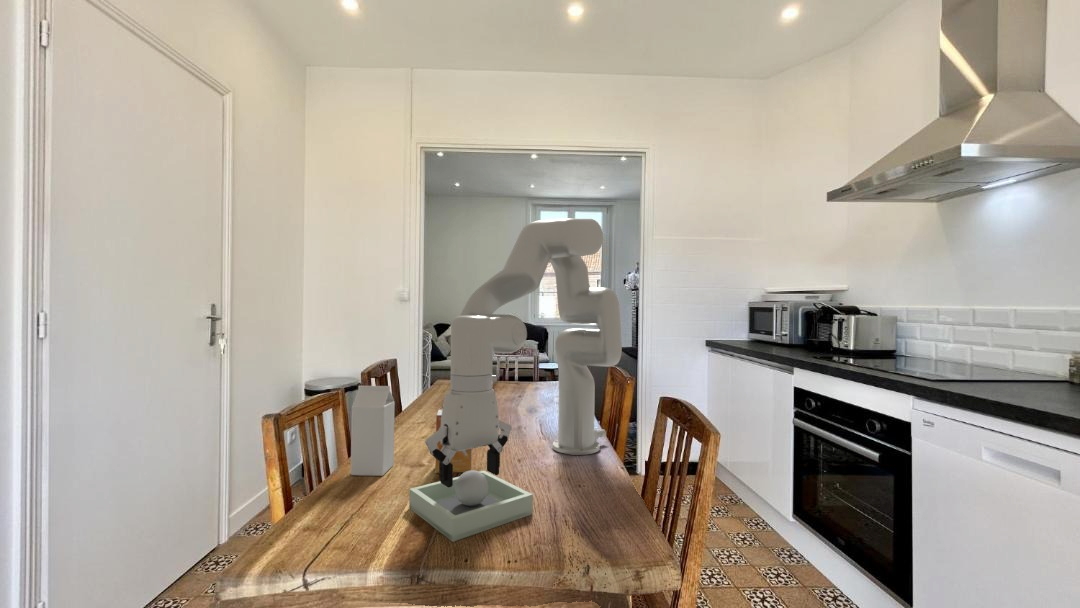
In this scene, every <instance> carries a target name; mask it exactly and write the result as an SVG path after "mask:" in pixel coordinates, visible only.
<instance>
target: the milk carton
mask: <svg viewBox="0 0 1080 608" xmlns="http://www.w3.org/2000/svg"><path fill="white" fill-rule="evenodd" d="M395 402H396V401H395V399H394V397H393V395H392V393H391V387H390V385H358V390H357V393H356V395H355V398H354V401H353V403H352V405H351V438H350V439H351V443H350V444H351V445H350V475H351V476H370V477H371V476H373V477H374V476H377V477H379V476H384V475H385V474H386V473H388V471H389V470H390V469H391V468H392V467H394V465H395V464H394V463H395V459H394V458H395Z"/></svg>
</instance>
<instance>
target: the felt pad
mask: <svg viewBox="0 0 1080 608" xmlns="http://www.w3.org/2000/svg"><path fill="white" fill-rule="evenodd" d="M497 502H499V501H498V500H496V499H494V498H492V497H491V496H489V495H487V496H486V497H485V499H484V500H483V501H482V502H481V503H479V504H477V505H474V506H467V505H464V504H463V503H461V502H460V501H459V500H458V498H457V496H456V497H452V498H449V499H445V500H442V501H438V502H436V503H438V504H439V505H441V506H442V507H444V508H445V509H447V510H448V511H450V512H451V513H452V514H454V515H458V514H462V513H465V512H468V511H471V510H475V509H478V508H481V507H484V506H488V505H491V504H494V503H497Z"/></svg>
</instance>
